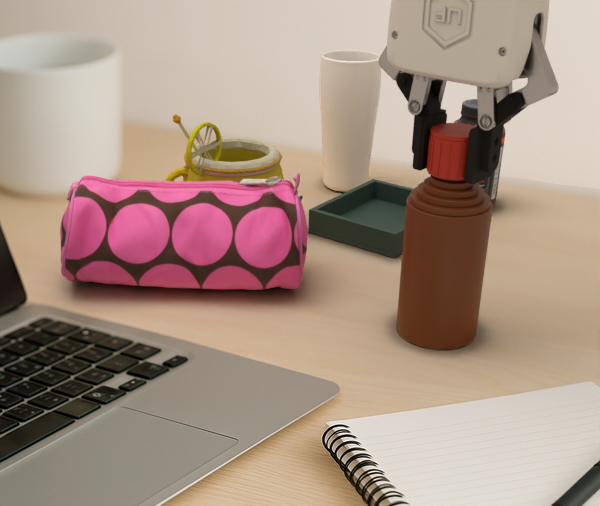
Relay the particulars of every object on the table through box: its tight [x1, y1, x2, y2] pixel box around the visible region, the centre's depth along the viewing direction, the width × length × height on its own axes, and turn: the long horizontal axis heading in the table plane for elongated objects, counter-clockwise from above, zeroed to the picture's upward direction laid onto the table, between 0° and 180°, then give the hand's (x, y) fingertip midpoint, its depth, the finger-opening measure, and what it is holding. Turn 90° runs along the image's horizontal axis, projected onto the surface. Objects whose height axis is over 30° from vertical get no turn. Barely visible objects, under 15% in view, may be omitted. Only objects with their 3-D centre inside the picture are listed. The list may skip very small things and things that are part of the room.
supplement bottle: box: [452, 98, 506, 207], centre depth 90 cm, size 6×6×11 cm
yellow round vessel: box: [164, 113, 285, 182], centre depth 83 cm, size 13×11×12 cm
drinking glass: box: [319, 49, 382, 193], centre depth 94 cm, size 7×7×15 cm
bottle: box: [396, 175, 494, 351], centre depth 63 cm, size 6×6×16 cm
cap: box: [426, 122, 476, 181], centre depth 60 cm, size 4×4×3 cm
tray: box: [307, 178, 414, 259], centre depth 86 cm, size 12×10×2 cm
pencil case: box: [59, 171, 308, 291], centre depth 72 cm, size 21×10×10 cm, turn 93°
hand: (452, 170), depth 61 cm, fingers closed on cap, 3 cm apart
